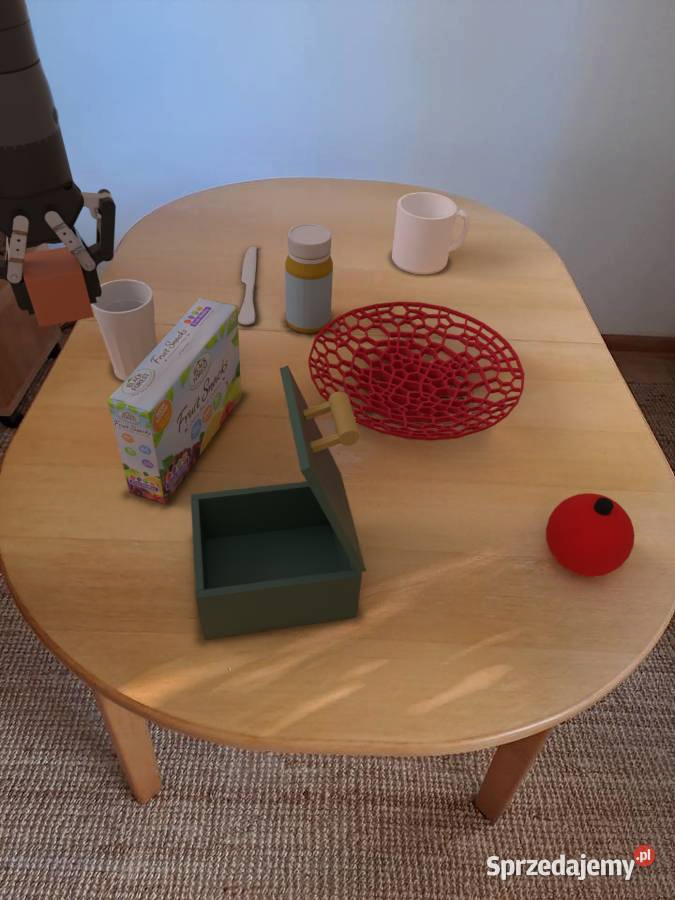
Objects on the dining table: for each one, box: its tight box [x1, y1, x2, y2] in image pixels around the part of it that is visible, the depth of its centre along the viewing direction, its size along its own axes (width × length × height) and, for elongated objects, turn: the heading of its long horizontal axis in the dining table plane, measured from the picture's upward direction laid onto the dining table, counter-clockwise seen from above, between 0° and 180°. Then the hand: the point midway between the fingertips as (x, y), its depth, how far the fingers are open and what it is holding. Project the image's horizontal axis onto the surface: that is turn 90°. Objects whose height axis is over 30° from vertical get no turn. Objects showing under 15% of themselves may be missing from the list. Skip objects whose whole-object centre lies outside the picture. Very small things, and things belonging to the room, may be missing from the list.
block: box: [22, 246, 95, 328], centre depth 64 cm, size 5×5×5 cm
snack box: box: [107, 297, 243, 505], centre depth 81 cm, size 21×6×15 cm, turn 161°
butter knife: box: [238, 245, 257, 326], centre depth 112 cm, size 1×24×3 cm
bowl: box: [307, 300, 525, 442], centre depth 93 cm, size 29×30×5 cm
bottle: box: [284, 223, 334, 335], centre depth 100 cm, size 7×7×15 cm
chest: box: [190, 480, 363, 641], centre depth 70 cm, size 16×13×8 cm
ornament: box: [545, 492, 636, 578], centre depth 72 cm, size 9×9×10 cm
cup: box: [91, 278, 158, 382], centre depth 91 cm, size 8×8×12 cm
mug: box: [391, 191, 471, 276], centre depth 116 cm, size 13×10×10 cm
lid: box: [279, 365, 367, 574], centre depth 62 cm, size 16×13×5 cm
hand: (62, 304), depth 66 cm, fingers closed on block, 5 cm apart
